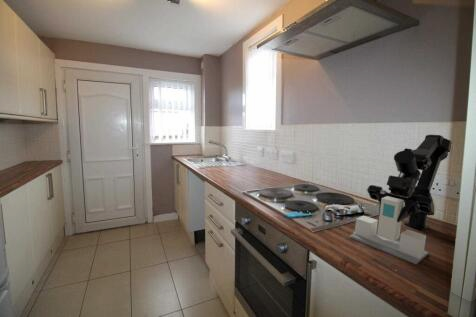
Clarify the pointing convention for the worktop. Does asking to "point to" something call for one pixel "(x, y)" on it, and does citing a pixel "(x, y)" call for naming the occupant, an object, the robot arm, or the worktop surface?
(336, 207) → the gun
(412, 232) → the board
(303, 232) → the worktop surface
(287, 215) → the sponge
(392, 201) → the block
